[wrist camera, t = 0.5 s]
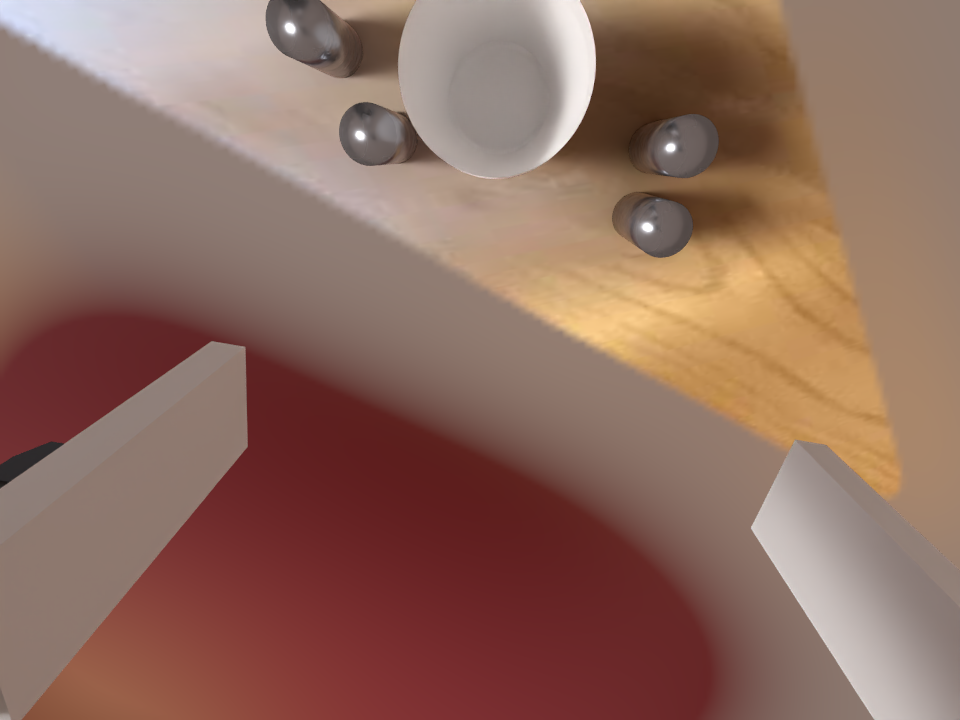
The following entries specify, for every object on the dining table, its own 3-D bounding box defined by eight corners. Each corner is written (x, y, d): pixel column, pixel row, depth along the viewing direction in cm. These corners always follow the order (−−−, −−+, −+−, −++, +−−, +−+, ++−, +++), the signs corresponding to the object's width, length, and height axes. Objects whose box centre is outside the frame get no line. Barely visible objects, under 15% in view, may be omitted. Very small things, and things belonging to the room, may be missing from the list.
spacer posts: (305, 31, 32) (254, 0, 26) (636, -106, 29) (674, -182, 22) (411, 308, 39) (393, 339, 32) (690, 222, 36) (732, 237, 29)
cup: (555, 1, 31) (584, -85, 20) (577, 156, 34) (612, 156, 23) (414, 40, 32) (367, -21, 21) (448, 186, 35) (423, 200, 24)
